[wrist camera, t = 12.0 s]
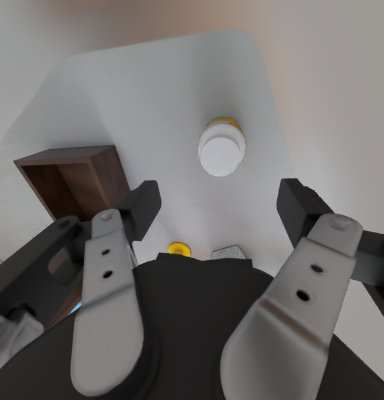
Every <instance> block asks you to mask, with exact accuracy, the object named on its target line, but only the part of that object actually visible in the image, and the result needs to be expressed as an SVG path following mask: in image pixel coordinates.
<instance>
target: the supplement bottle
mask: <svg viewBox="0 0 384 400" xmlns="http://www.w3.org/2000/svg"><path fill="white" fill-rule="evenodd" d="M245 150H246V143H245V139H244V136H243V133H242V131H241V128H240V126H239V124H238V123H237V122H236V121H235V120H233V119H232V118H229V117H218V118H216V119H214V120H212V121H211V122H210V123H209V124H208V125H207V127H206V128H205V130H204V132H203V133H202V135H201V137H200V139H199V142H198V156H199V159H200V161H201V165H202V167H203V168H204V170H205V171H206V172H207V173H209V174H211V175H213V176H218V177H222V176H226V175H229V174H231V173H232V172H234V171H235V170H236V168H237V167H238V165H239V163H240V162H241V161H242V159H243V157H244V155H245Z"/></svg>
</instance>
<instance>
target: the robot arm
mask: <svg viewBox="0 0 384 400" xmlns="http://www.w3.org/2000/svg"><path fill="white" fill-rule="evenodd" d="M160 208H161V197H160V192H159V188H158V184H157V181H155V180H147V181H144V182H143V183H142V184H141V185H140V186H139V187H138V188H136V189H134V190H133V191H131V192H130V193H129V194H128V196H126V197H125V199H124V200H123V201H122V202H121V203H120V204H119V205H118V206H117V207H116V208H115V209H108V210H104V211H102V212H100V213H98V214H96V215H95V216H94V217H93V219H92V221H87V222H82V223H81V222H80V220H79V219H78V217H77V216H73V215H72V216H66V217H63V218H60V219H58V220H56V221H55V222H53V223H52V224H51V225H49V226H48V227H47V228H46V229H44V230H43V231H42V232H41V233H39V234H38V235H37V236H36V237H34V238H33V239H32V240H31V241H29V242H28V243H27V244H25V245H24V246H23V247H22V248H20V249H19V250H18V251H17V252H15V253H14V254H13V255H12V256H10V257H9V258H8V259H7V260H5V261H4V262H3V263H2V264H0V400H384V381H383V380H382V379H381V378H380V377H379V376H378V375H377V374H376V373H375V372H373V371H372V370H371V369H370V368H369V367H368V366H367V365H366V364H365V363H364V362H363V361H362V360H361V359H360V358H359V357H358V356H357V355H356V354H355V353H354V352H353V351H352V350H351V349H350V348H349V347H347V346H346V345H345V344H344V343H343V342H342V341H341V340H340V339H339V338H338V337H337V336H336V335H335V334H334V333H333V331H334V329H335V325H336V322H337V319H338V316H339V313H340V310H341V307H342V304H343V301H344V298H345V294H346V291H347V288H348V285H349V282H350V279H353V280H357V281H360V282H362V283H363V285H364V286H365V288H366V290H367V291H368V293H369V294H370V296H371V297H372V299H373V301H374V302H375V304H376V305H377V306H378V308H379V310H380V311H381V313H382V315H383V316H384V234H379V233H375V232H370V231H365V230H363V227H362V226H361V225H360V224H359V223H358V222H357V221H355V220H354V219H352V218H349V217H347V216H344V215H340V214H335V213H334V212H333V211H332V209H331V208H330V207H329V206H328V205H327V204H326V203H325V202H324V201H323V200H322V198H321V197H319V195H318V194H317V193H316V192H315V191H314V190H312V189H310V188H308V187H307V186H303V185H302V184H301V183H300V181H299V180H298V179H297V178H288V179H282V180H281V183H280V188H279V193H278V198H277V211H278V213H279V216H280V218H281V220H282V222H283V225H284V227H285V229H286V232H287V234H288V236H289V239H290V241H291V243H292V246H293V248H294V250H293V252H292V253H291V255H290V256H289V258H288V259H287V261H286V262H285V263H284V265H283V266H282V268H281V269H280V271H279V272H278V274H277V275H276V276H275V278H274V277H272V276H271V275H269V274H268V273H266V272H264V271H261V270H259V269H257V268H253V265H252V259H239V258H221V259H213V260H206V261H200V260H197V259H194V258H191V257H187V256H184V255H181V254H171V253H159V254H158V256H157V258H156V260H152V261H148V262H145V263H143V264H141V265H138V262H137V258H136V255H135V251H134V248H133V245H132V242H133V241H142V239H143V238H144V236H145V234H146V232H147V231H148V229H149V227H150V226H151V224H152V222H153V220H154V219H155V217H156V215H157V213H158V212H159V210H160ZM61 249H62V250H63V251H64V253H65V254H66V255H67V258H66V259H65V261H64V262H63V263H62V264H61V265H60V266H59V267H58V268H57V269H56V271H55V272H54V273H53V274H51V273H50V272H49V270H48V264H49V262H50V260H51V259H52V258H53V257H54V256H55V255H56V254H57V253H58V252H59V251H60V250H61ZM82 278H83V289H82V304H81V306H80V307H79V308H77V309H76V310H75V311H73V312H72V313H70V314H69V315H68V316H66V317H65V318H63V319H62V320H61V321H59V322H58V323H56V324H55V325H54V326H52V327H51V328H49V329H48V330H47V331H45V329H46V328H47V326H48V325H49V324H50V322H51V321H52V319H53V318H54V317H55V315H56V314H57V312H58V311H59V310H60V308H61V307H62V305H63V304H64V303H65V301H66V300H67V299H68V297H69V296H70V294H71V293H72V292H73V290H74V289H75V287H76V286H77V285H78V283H79V282H80V280H81V279H82ZM44 331H45V332H44ZM43 332H44V333H43Z"/></svg>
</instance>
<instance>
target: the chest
mask: <svg viewBox="0 0 384 400" xmlns="http://www.w3.org/2000/svg"><path fill="white" fill-rule="evenodd" d="M13 162H14V163H15V165H16V166H17V168H18V169H19V171H20V172H21V174H22V175H23V177H24V178H25V180H26V181H27V182H28V184H29V185H30V187H31V188H32V190H33V191H34V193H35V194H36V196H37V197H38V199H39V200H40V202H41V203H42V204H43V206H44V207H45V209H46V210H47V212H48V213H49V215H50V216H51V218H52V219H53V221H54V222H55V221H56V220H58V219H60V218H63V217H66V216H72V215H73V216H77V217H78V219H79V220H80V222H81V223H82V222H87V221H92V219H93V217H94V216H95V215H96V214H98V213H100V212H102V211H104V210H108V209H115V208H116V207H117V206H118V205H119V204H120V203H121V202H122V201H123V200H124V199H125V197H126V196H128V194H129V193H130V189H129V186H128V183H127V180H126V177H125V174H124V172H123V169H122V166H121V163H120V160H119V157H118V154H117V151H116V148H115V145H109V146H94V147H79V148H63V149H49V150H46V151H42V152H39V153H36V154H33V155H30V156H27V157H24V158H21V159H18V160H15V161H13Z"/></svg>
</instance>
